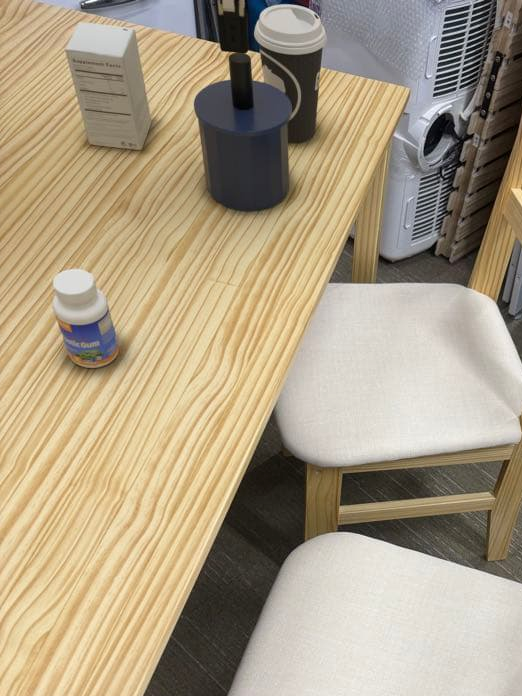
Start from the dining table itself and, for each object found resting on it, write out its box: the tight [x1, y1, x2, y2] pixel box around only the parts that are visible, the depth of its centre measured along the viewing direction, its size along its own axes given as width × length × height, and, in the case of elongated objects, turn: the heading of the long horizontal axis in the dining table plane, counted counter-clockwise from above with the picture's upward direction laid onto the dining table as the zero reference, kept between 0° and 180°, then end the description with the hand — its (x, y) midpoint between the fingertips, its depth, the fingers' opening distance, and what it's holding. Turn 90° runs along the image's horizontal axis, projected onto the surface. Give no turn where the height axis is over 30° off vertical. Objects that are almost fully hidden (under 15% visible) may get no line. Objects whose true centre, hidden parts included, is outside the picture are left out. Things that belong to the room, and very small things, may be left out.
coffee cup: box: [253, 3, 328, 144], centre depth 108 cm, size 10×10×15 cm
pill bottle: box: [52, 268, 120, 369], centre depth 83 cm, size 5×5×10 cm
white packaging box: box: [64, 21, 153, 151], centre depth 104 cm, size 7×7×13 cm
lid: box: [193, 52, 292, 136], centre depth 95 cm, size 12×12×7 cm
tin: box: [197, 118, 290, 212], centre depth 101 cm, size 11×11×10 cm
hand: (234, 48), depth 91 cm, fingers closed
